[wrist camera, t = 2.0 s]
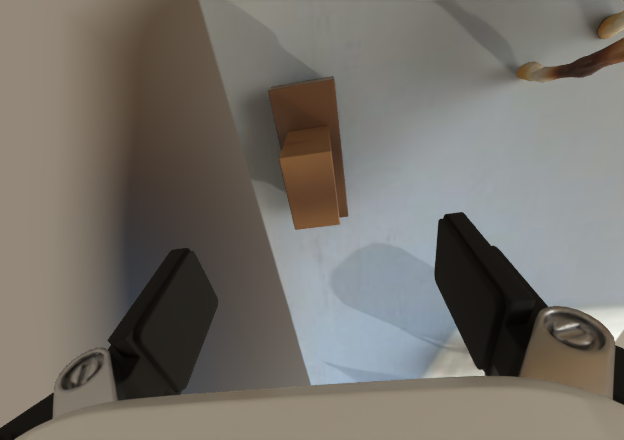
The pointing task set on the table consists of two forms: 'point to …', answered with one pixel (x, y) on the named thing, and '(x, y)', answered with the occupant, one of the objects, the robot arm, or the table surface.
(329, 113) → the brown stepped block
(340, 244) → the table surface
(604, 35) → the horse figurine
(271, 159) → the table surface
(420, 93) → the table surface
